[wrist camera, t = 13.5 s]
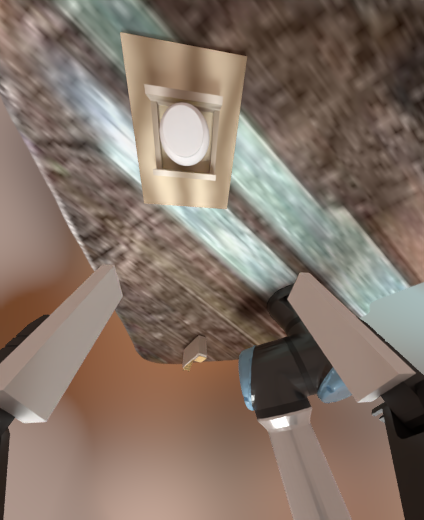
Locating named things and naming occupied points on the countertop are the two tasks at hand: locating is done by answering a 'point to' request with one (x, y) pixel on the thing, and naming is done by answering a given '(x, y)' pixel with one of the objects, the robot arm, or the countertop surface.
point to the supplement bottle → (184, 134)
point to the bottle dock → (192, 92)
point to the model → (195, 352)
